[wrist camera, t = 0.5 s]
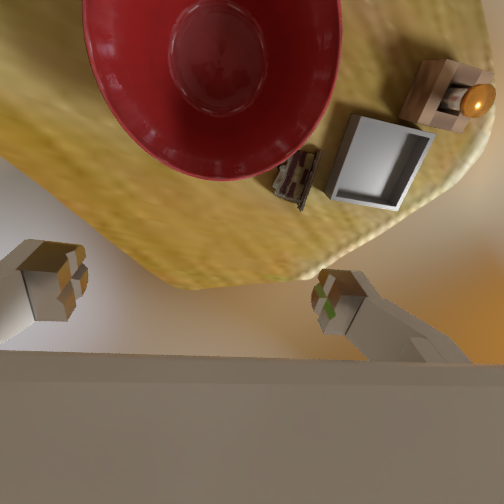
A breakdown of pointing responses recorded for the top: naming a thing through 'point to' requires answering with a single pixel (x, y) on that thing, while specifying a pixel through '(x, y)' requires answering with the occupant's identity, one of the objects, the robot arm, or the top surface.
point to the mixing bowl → (216, 77)
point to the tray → (376, 163)
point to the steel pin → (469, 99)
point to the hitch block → (440, 93)
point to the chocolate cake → (297, 177)
